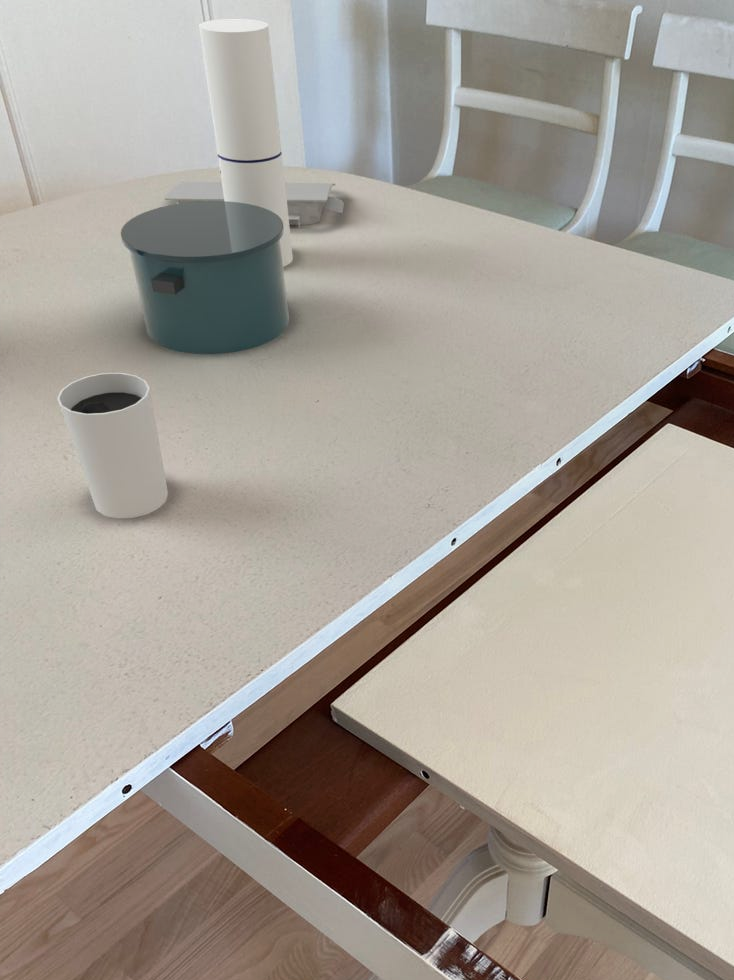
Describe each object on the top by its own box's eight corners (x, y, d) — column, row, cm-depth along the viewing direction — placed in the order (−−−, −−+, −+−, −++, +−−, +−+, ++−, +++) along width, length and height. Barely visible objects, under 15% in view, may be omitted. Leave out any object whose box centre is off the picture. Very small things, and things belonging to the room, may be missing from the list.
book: (338, 235, 126) (335, 204, 124) (158, 234, 125) (152, 202, 123) (345, 196, 138) (343, 167, 135) (181, 195, 137) (175, 165, 134)
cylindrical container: (250, 279, 115) (216, 34, 98) (224, 260, 119) (187, 22, 102) (303, 267, 118) (280, 27, 101) (276, 248, 122) (249, 16, 106)
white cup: (134, 536, 76) (103, 423, 70) (72, 512, 79) (37, 400, 72) (191, 496, 81) (168, 386, 74) (131, 474, 83) (103, 365, 76)
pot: (107, 354, 100) (81, 250, 93) (192, 286, 113) (175, 190, 106) (251, 376, 97) (235, 270, 90) (321, 303, 110) (312, 206, 103)
